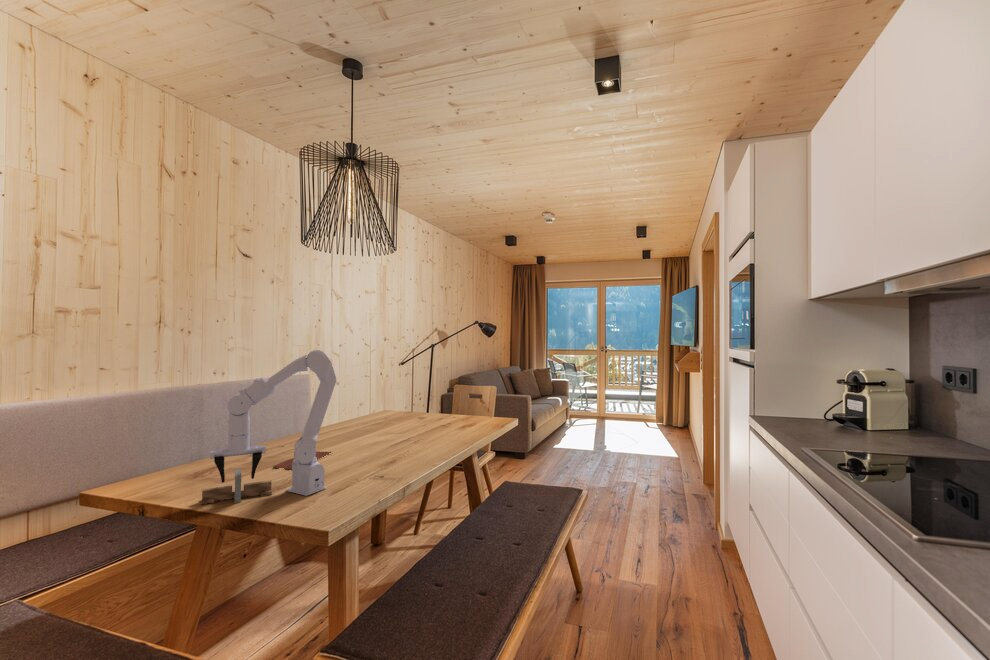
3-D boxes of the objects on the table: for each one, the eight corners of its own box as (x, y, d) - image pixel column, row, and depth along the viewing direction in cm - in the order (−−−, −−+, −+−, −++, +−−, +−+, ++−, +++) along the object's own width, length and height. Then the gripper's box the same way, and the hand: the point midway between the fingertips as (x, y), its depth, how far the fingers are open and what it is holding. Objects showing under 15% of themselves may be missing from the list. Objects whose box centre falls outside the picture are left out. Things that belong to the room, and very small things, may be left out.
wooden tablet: (294, 472, 162) (294, 468, 162) (270, 470, 165) (270, 465, 165) (336, 453, 188) (336, 449, 188) (315, 452, 191) (315, 448, 191)
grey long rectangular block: (240, 502, 132) (241, 478, 132) (234, 503, 131) (235, 478, 131) (240, 491, 141) (241, 469, 141) (234, 492, 140) (235, 469, 140)
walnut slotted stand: (270, 489, 142) (270, 478, 143) (271, 494, 138) (271, 483, 138) (202, 499, 134) (203, 487, 134) (201, 505, 129) (201, 492, 129)
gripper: (265, 429, 143) (264, 472, 143) (211, 434, 136) (210, 479, 136) (266, 433, 137) (265, 478, 137) (209, 438, 130) (209, 486, 130)
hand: (238, 479), depth 136 cm, fingers open, 7 cm apart
